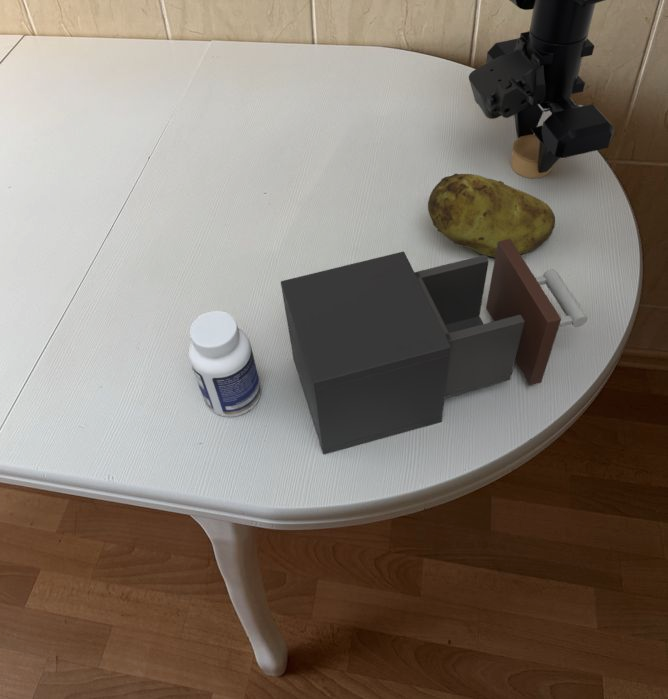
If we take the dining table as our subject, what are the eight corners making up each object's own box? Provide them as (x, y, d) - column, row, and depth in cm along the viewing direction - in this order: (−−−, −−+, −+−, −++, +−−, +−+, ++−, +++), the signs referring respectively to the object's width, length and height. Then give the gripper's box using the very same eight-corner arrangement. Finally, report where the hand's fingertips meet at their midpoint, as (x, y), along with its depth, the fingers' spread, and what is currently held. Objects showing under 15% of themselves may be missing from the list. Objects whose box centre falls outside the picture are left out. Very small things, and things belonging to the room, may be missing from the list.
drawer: (537, 294, 70) (555, 227, 63) (585, 370, 64) (610, 305, 57) (403, 328, 68) (406, 263, 61) (440, 410, 62) (447, 348, 55)
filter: (559, 160, 84) (564, 142, 82) (542, 184, 81) (546, 166, 79) (520, 147, 86) (524, 129, 84) (502, 170, 83) (505, 152, 81)
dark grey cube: (401, 330, 69) (404, 250, 61) (441, 422, 63) (451, 347, 54) (293, 358, 68) (280, 280, 59) (323, 454, 61) (313, 383, 53)
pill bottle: (270, 378, 67) (256, 311, 59) (248, 425, 64) (229, 360, 56) (219, 365, 68) (198, 297, 60) (194, 410, 65) (169, 345, 57)
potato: (539, 283, 72) (554, 225, 66) (418, 256, 75) (421, 198, 69) (553, 230, 77) (569, 170, 70) (439, 206, 80) (443, 148, 74)
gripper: (448, 1, 75) (439, 127, 87) (524, 96, 64) (501, 225, 76) (545, -18, 76) (522, 108, 89) (636, 72, 65) (595, 202, 77)
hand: (532, 158), depth 83 cm, fingers closed on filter, 5 cm apart
